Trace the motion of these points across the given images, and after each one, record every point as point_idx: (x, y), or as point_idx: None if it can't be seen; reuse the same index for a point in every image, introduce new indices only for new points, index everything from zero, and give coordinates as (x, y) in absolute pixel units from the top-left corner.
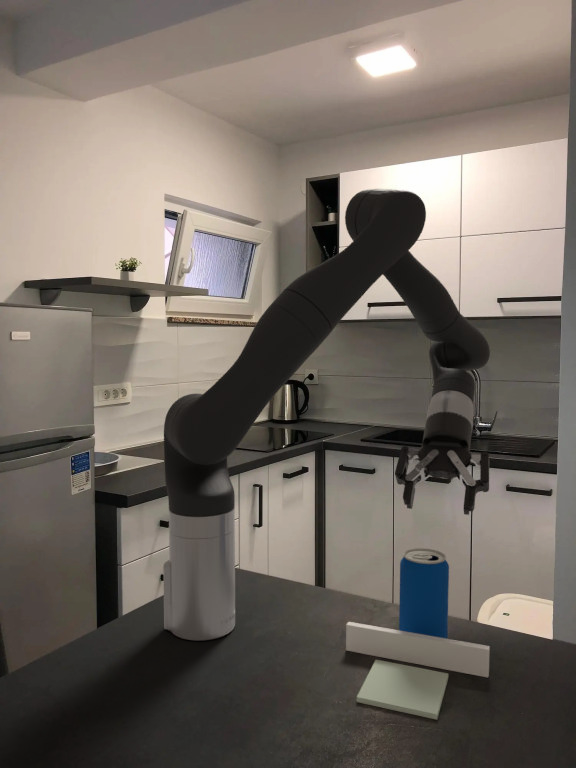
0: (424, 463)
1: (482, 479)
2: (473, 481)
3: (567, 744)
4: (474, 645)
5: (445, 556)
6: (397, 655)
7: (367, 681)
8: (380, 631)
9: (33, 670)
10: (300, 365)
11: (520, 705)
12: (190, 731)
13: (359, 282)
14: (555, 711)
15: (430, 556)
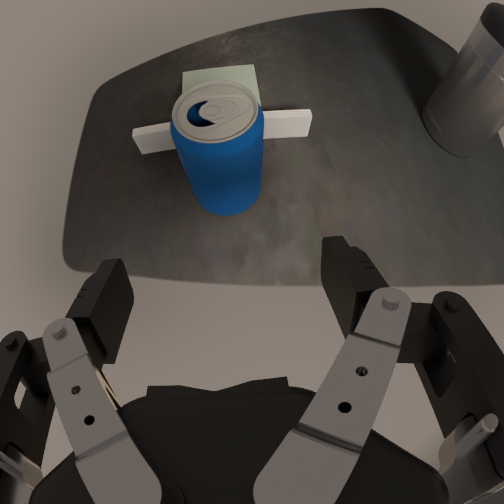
0: (350, 380)
1: (15, 347)
2: (50, 338)
3: (92, 99)
4: (148, 129)
5: (173, 119)
6: None
7: (254, 82)
8: (264, 111)
9: None
10: None
11: (117, 122)
12: (337, 25)
13: None
14: (91, 130)
15: (203, 113)
